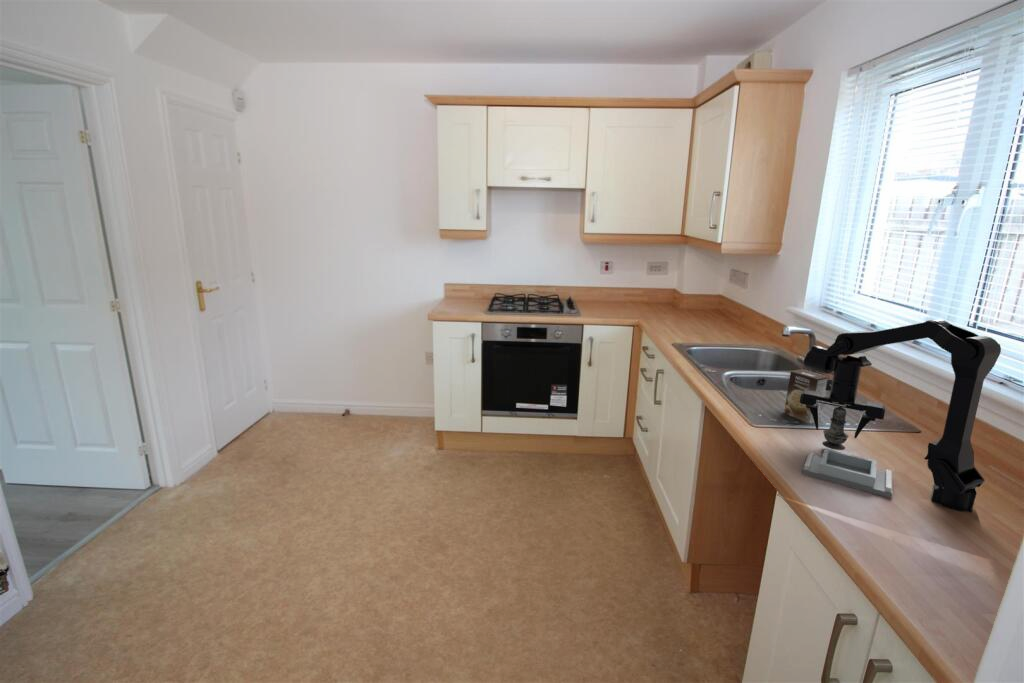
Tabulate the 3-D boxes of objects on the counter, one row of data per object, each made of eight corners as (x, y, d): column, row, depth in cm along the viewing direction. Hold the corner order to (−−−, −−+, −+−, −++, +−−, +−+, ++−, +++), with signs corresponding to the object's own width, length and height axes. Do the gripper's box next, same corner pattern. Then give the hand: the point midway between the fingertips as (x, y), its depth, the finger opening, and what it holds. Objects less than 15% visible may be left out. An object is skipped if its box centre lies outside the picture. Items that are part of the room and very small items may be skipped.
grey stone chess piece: (821, 439, 138) (828, 399, 135) (846, 445, 134) (854, 403, 132) (820, 446, 133) (827, 405, 130) (846, 452, 130) (854, 410, 127)
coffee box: (781, 417, 159) (789, 370, 155) (794, 415, 162) (801, 368, 158) (809, 428, 151) (817, 378, 147) (821, 425, 154) (830, 376, 150)
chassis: (891, 478, 121) (894, 464, 120) (891, 498, 112) (894, 483, 111) (807, 456, 132) (810, 444, 131) (801, 473, 122) (803, 460, 121)
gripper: (889, 378, 130) (878, 433, 134) (809, 366, 141) (800, 416, 144) (889, 388, 121) (877, 446, 125) (803, 374, 132) (795, 428, 136)
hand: (835, 433), depth 133 cm, fingers closed on grey stone chess piece, 8 cm apart
